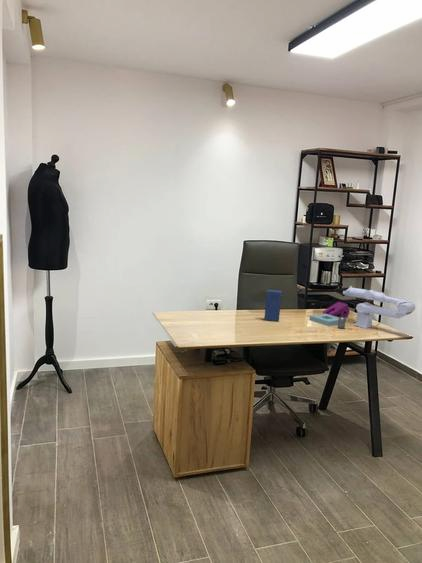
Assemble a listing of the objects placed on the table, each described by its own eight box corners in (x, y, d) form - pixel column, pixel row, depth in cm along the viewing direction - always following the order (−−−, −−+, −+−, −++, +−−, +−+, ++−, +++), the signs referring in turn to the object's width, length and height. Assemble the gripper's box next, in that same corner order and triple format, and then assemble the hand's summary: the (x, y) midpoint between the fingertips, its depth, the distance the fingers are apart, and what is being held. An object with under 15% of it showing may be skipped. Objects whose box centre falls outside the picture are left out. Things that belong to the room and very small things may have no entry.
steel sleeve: (346, 328, 297) (347, 318, 296) (341, 329, 294) (343, 318, 293) (340, 327, 300) (341, 316, 299) (336, 327, 298) (337, 317, 296)
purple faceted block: (331, 326, 323) (350, 314, 329) (328, 316, 320) (347, 304, 326) (322, 323, 331) (341, 311, 338) (319, 313, 328) (338, 301, 335)
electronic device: (278, 320, 307) (281, 290, 304) (278, 321, 302) (281, 291, 299) (264, 318, 308) (267, 289, 304) (264, 320, 303) (267, 290, 299)
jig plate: (343, 323, 310) (344, 319, 309) (328, 326, 300) (328, 321, 300) (324, 317, 322) (325, 313, 322) (309, 320, 313) (310, 315, 312)
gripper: (362, 285, 312) (344, 283, 322) (351, 287, 302) (333, 285, 312) (362, 296, 313) (344, 293, 323) (351, 298, 303) (332, 295, 313)
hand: (338, 290), depth 317 cm, fingers open, 7 cm apart
